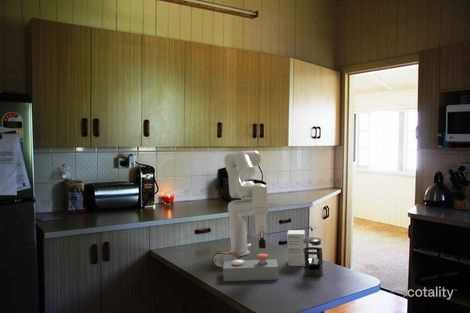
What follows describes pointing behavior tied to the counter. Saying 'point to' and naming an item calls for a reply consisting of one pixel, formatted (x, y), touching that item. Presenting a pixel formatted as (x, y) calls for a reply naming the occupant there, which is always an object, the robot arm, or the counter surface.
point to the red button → (262, 258)
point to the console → (250, 270)
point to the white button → (237, 262)
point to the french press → (313, 269)
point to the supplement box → (296, 247)
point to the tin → (224, 257)
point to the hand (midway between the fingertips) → (262, 247)
